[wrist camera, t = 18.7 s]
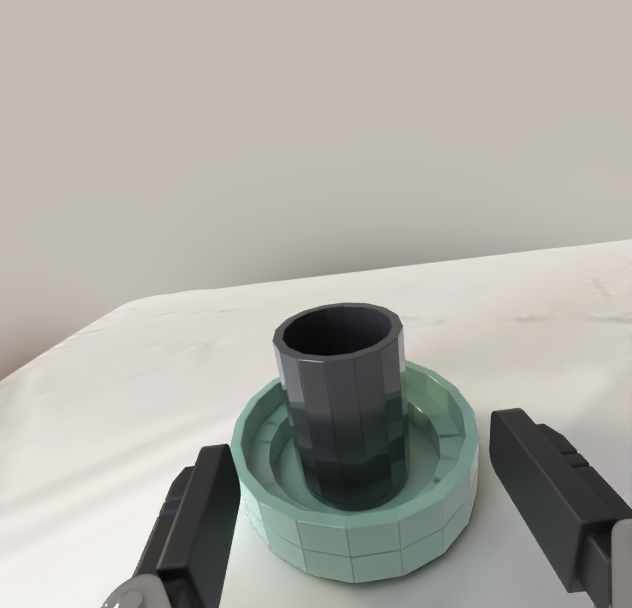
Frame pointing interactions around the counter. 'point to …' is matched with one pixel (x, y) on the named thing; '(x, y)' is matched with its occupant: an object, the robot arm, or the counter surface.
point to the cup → (346, 402)
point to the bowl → (370, 525)
